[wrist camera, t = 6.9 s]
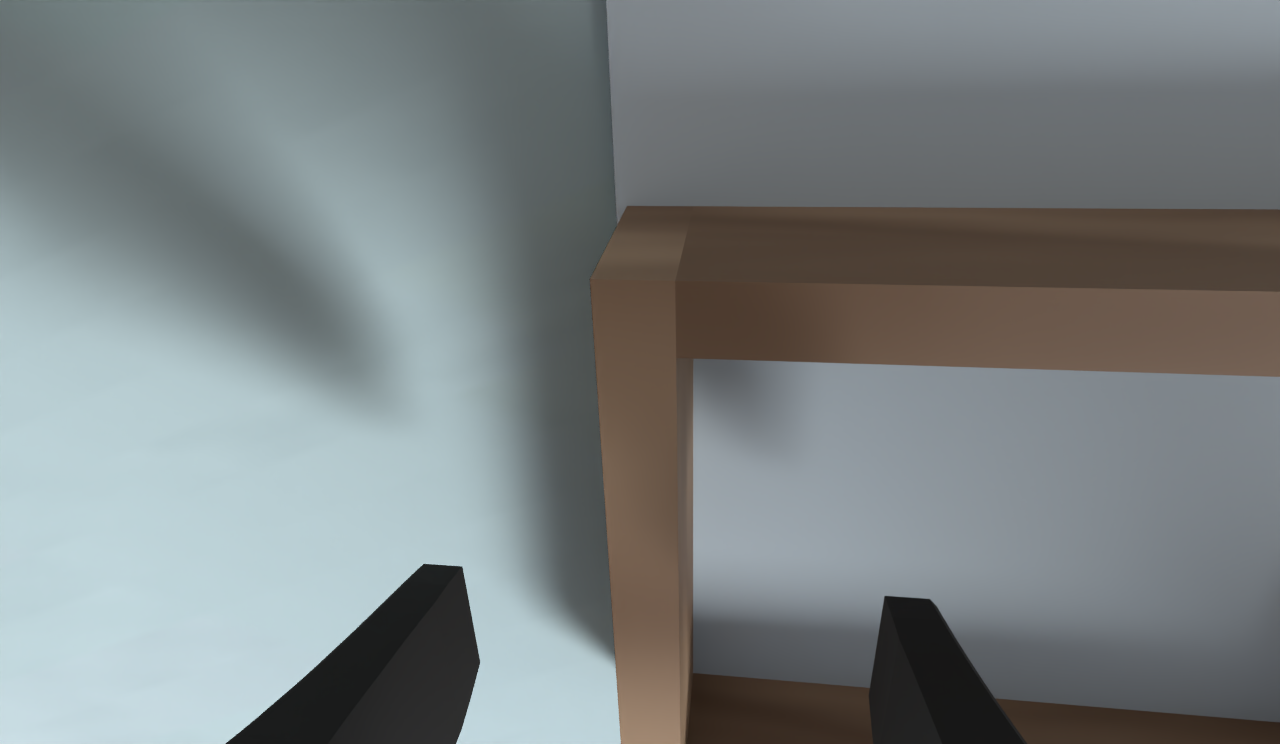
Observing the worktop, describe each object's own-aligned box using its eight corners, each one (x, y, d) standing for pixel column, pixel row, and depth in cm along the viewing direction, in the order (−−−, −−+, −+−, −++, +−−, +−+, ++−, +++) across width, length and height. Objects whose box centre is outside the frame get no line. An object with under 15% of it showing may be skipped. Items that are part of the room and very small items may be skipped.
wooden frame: (1360, 764, 15) (1489, 936, 12) (647, 700, 17) (627, 838, 14) (1717, 211, 10) (2068, 306, 7) (627, 206, 12) (590, 279, 9)
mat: (1328, 858, 17) (1337, 872, 17) (645, 786, 19) (644, 798, 18) (1983, -118, 8) (2024, -120, 8) (606, -61, 10) (603, -62, 10)
